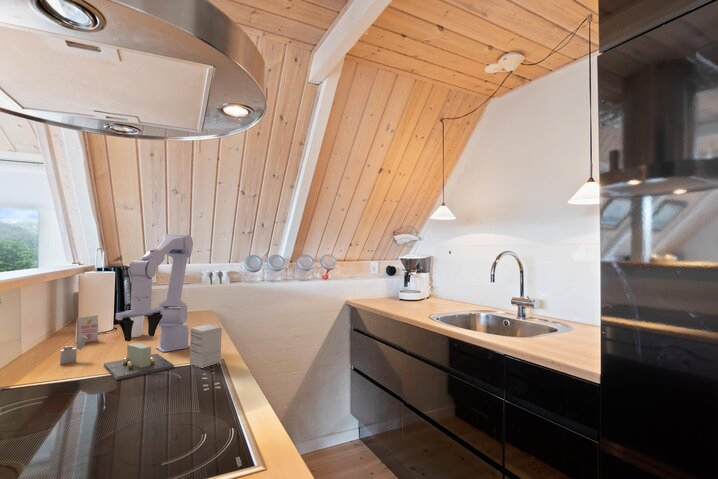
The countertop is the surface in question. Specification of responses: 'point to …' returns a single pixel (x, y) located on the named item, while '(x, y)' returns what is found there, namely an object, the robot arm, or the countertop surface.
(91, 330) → the printed carton
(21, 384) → the countertop surface
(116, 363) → the standoff plate
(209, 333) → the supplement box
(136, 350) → the sage block
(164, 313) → the robot arm
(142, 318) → the white cup
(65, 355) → the lighter
